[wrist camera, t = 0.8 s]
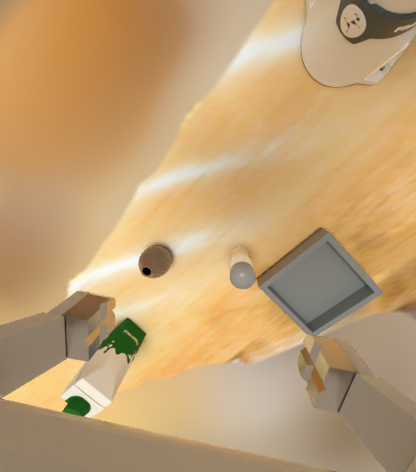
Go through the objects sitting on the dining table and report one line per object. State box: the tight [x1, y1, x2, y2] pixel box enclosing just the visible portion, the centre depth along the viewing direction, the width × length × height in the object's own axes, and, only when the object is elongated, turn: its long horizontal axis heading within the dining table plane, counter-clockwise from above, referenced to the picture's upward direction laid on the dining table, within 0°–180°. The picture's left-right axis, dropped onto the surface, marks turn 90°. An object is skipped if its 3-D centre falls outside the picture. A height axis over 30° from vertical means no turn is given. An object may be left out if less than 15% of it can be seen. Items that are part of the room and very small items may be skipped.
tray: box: [257, 228, 383, 336], centre depth 45 cm, size 18×18×4 cm
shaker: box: [230, 247, 256, 289], centre depth 42 cm, size 5×5×11 cm
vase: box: [139, 246, 171, 278], centre depth 45 cm, size 7×7×9 cm
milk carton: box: [61, 318, 146, 418], centre depth 47 cm, size 9×9×20 cm
